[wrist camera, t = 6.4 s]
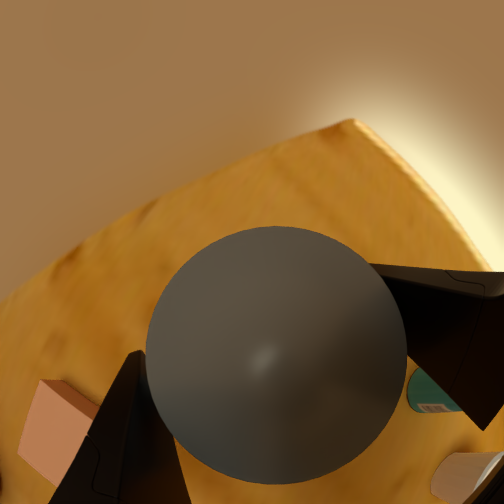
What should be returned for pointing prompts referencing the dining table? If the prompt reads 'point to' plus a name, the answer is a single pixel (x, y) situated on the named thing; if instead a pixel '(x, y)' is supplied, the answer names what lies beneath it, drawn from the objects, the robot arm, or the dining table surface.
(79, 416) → the stand
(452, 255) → the dining table surface
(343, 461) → the cap
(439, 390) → the tube
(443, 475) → the shot glass
